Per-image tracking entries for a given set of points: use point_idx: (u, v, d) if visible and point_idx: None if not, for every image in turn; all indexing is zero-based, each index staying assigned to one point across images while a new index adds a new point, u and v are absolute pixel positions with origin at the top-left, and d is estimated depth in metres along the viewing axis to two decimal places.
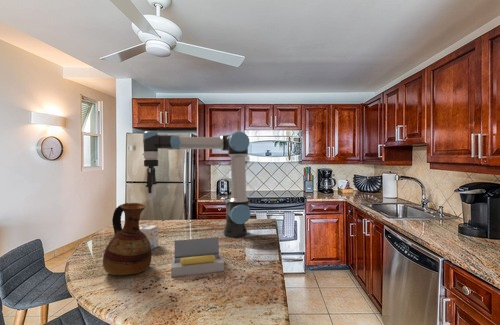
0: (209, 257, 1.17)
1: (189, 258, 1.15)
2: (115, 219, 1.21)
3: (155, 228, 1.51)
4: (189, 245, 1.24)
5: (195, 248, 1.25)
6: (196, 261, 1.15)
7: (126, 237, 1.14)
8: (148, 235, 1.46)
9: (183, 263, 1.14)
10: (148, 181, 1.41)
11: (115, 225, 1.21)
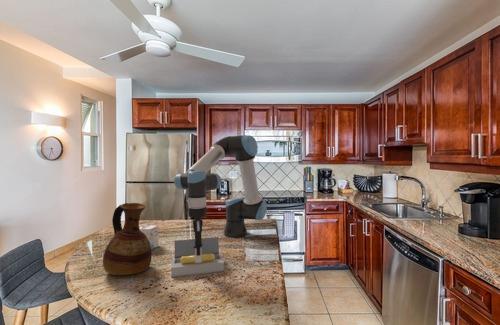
0: (208, 254, 1.19)
1: None
2: (115, 219, 1.21)
3: (155, 228, 1.51)
4: (189, 245, 1.24)
5: None
6: None
7: (126, 237, 1.14)
8: (148, 235, 1.46)
9: (183, 259, 1.15)
10: (197, 243, 1.11)
11: (115, 225, 1.21)
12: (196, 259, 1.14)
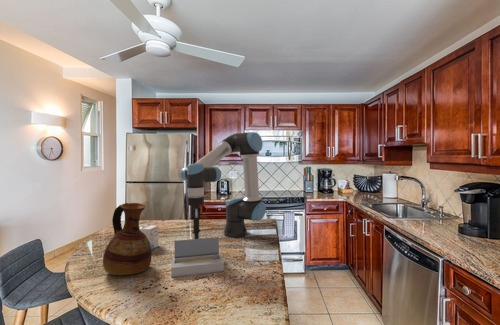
0: None
1: None
2: (115, 219, 1.21)
3: (155, 228, 1.51)
4: (189, 245, 1.24)
5: (195, 248, 1.24)
6: None
7: (126, 237, 1.14)
8: (148, 235, 1.46)
9: None
10: (195, 228, 1.23)
11: (115, 225, 1.21)
12: None
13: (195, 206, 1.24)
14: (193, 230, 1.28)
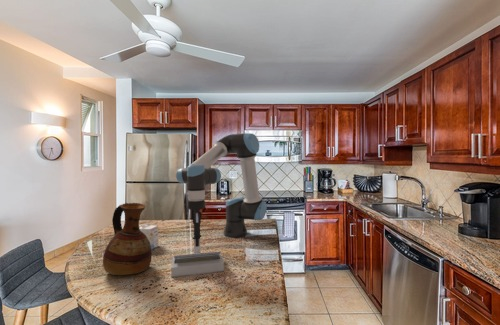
0: None
1: None
2: (115, 219, 1.21)
3: (155, 228, 1.51)
4: (189, 256, 1.19)
5: (195, 256, 1.21)
6: None
7: (126, 237, 1.14)
8: (148, 235, 1.46)
9: None
10: (196, 234, 1.16)
11: (115, 225, 1.21)
12: (195, 250, 1.19)
13: (196, 210, 1.16)
14: None
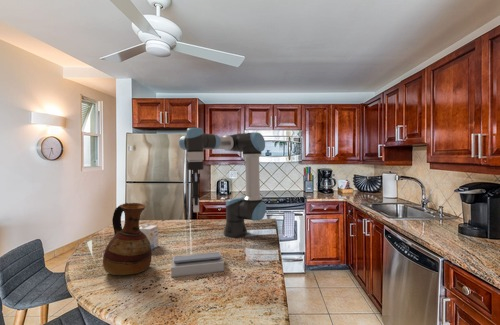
0: None
1: None
2: (115, 219, 1.21)
3: (155, 228, 1.51)
4: None
5: None
6: None
7: (126, 237, 1.14)
8: (148, 235, 1.46)
9: None
10: (195, 192, 1.22)
11: (115, 225, 1.21)
12: (194, 209, 1.25)
13: (195, 170, 1.22)
14: None
